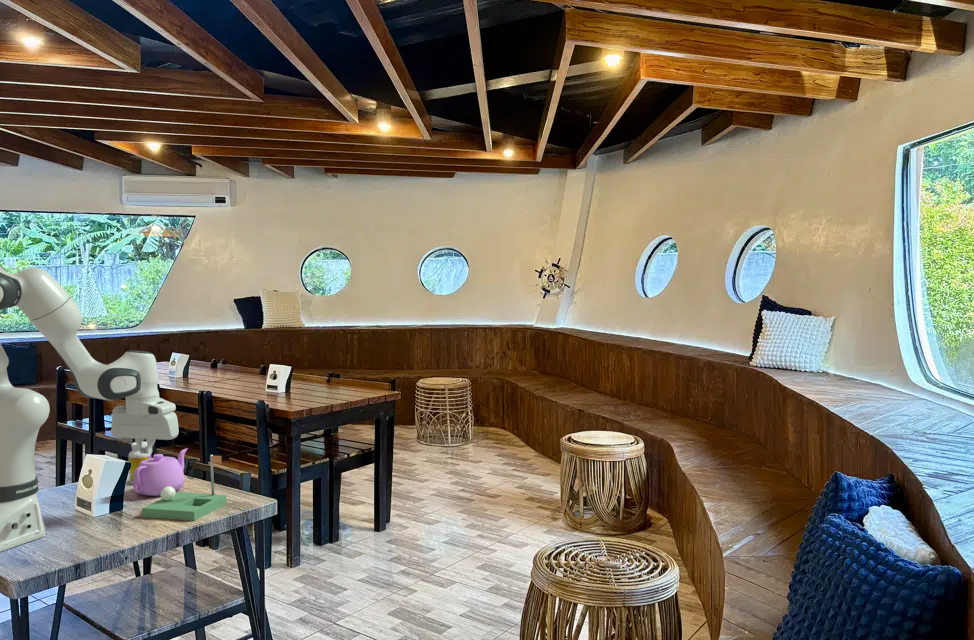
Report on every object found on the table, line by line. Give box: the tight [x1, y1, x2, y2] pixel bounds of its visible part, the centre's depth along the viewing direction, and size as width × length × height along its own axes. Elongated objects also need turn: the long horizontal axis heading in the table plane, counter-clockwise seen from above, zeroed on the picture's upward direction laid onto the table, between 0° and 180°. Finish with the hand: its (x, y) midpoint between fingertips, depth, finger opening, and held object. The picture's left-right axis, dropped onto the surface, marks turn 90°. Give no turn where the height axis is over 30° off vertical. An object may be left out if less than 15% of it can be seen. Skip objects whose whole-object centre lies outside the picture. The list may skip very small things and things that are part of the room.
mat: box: [141, 491, 227, 522], centre depth 210 cm, size 15×17×2 cm
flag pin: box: [209, 454, 222, 496], centre depth 214 cm, size 1×4×12 cm, turn 77°
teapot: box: [132, 447, 189, 497], centre depth 228 cm, size 20×13×12 cm, turn 154°
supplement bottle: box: [128, 441, 152, 485], centre depth 238 cm, size 7×7×13 cm
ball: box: [160, 486, 177, 501], centre depth 211 cm, size 4×4×4 cm
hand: (146, 453), depth 212 cm, fingers closed
